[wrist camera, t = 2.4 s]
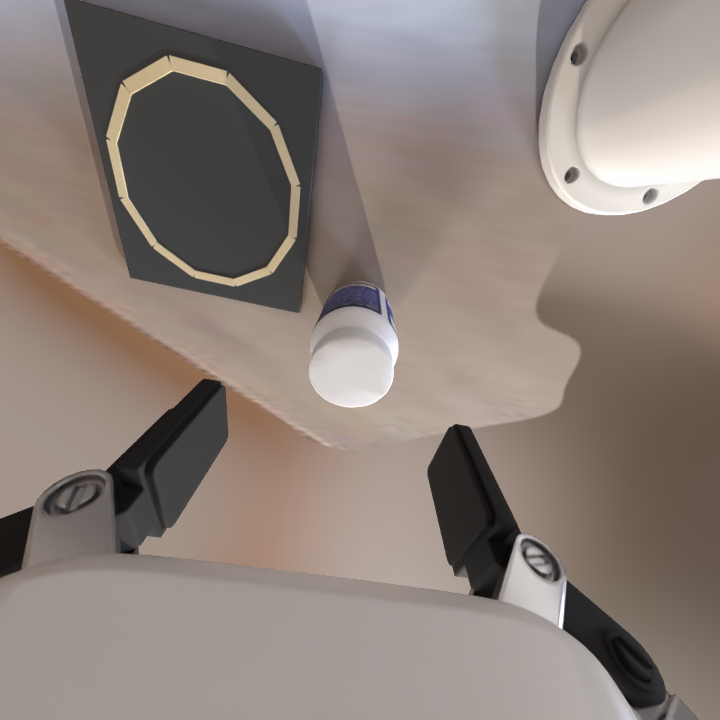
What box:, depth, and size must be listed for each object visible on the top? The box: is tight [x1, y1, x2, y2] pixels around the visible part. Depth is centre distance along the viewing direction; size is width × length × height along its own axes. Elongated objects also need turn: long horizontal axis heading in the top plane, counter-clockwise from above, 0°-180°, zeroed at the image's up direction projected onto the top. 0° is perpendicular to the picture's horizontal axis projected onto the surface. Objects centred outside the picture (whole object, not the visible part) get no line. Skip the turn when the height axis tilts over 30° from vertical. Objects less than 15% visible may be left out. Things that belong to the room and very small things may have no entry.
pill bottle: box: [308, 281, 398, 407], centre depth 18 cm, size 6×6×10 cm
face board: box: [64, 0, 323, 313], centre depth 18 cm, size 14×15×1 cm
